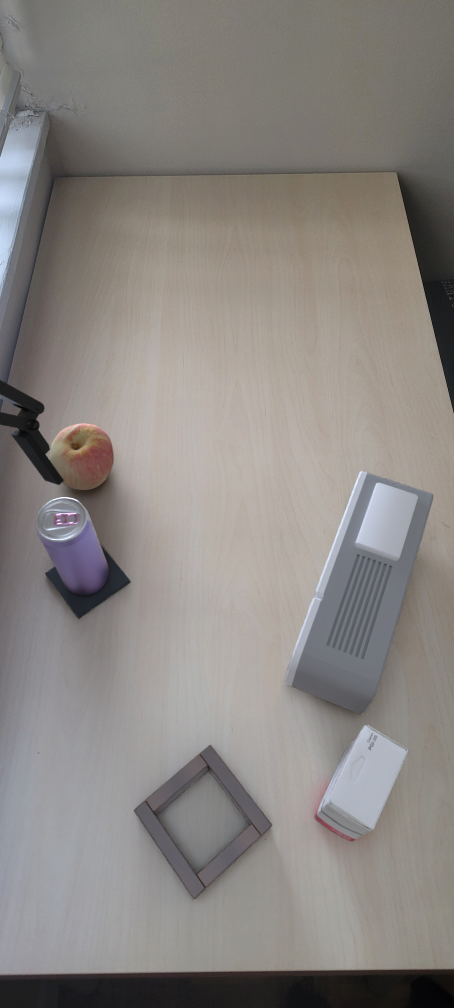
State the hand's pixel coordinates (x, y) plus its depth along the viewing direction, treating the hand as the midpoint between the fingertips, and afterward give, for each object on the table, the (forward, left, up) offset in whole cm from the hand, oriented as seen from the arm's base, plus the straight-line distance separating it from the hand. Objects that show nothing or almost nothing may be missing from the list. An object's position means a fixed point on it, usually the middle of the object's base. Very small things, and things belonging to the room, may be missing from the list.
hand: (8, 525), depth 65 cm
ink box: (+13, -40, -20) cm, 47 cm away
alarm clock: (+29, -25, -20) cm, 43 cm away
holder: (-1, -32, -20) cm, 38 cm away
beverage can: (+5, 0, -19) cm, 20 cm away
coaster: (+5, 0, -20) cm, 20 cm away
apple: (+14, +14, -20) cm, 28 cm away
